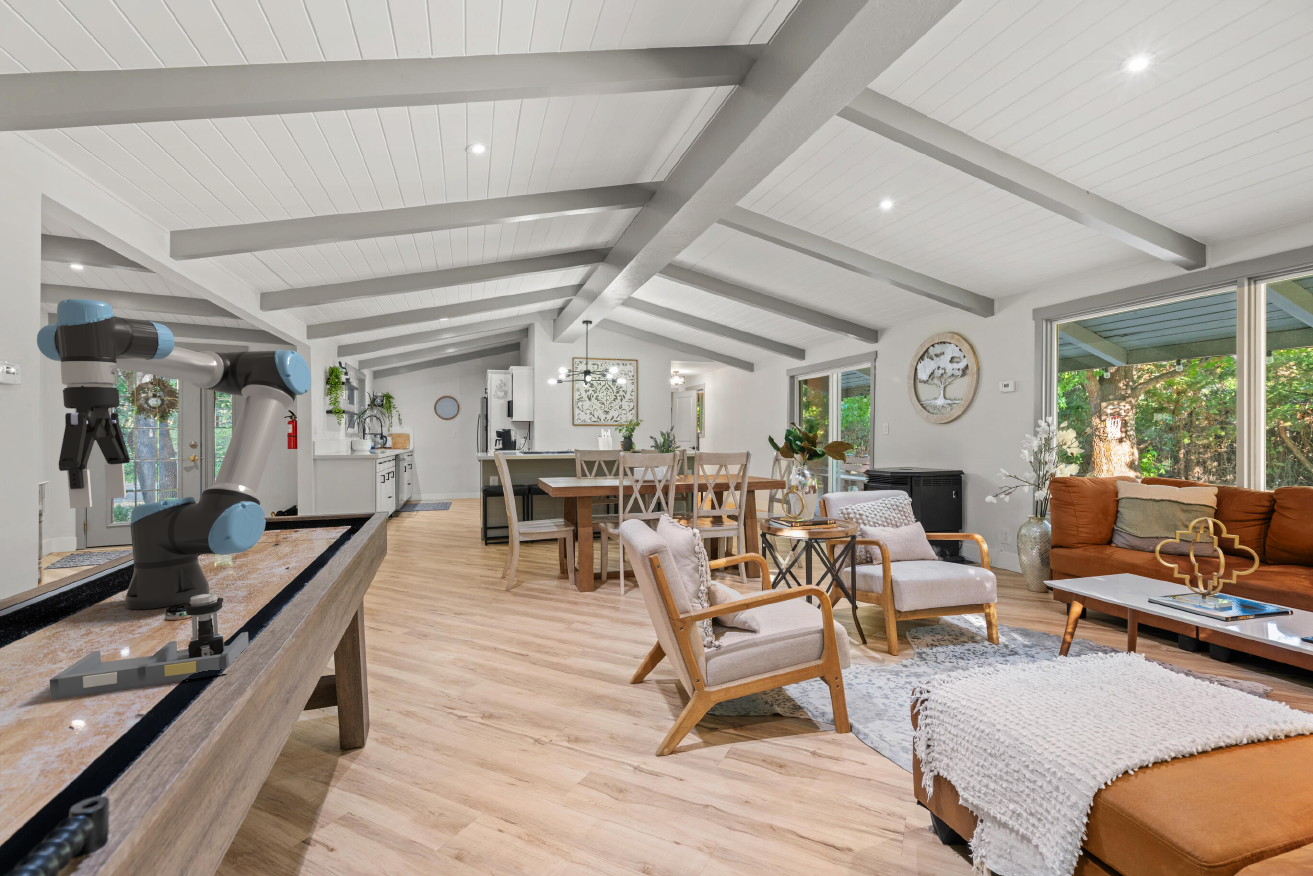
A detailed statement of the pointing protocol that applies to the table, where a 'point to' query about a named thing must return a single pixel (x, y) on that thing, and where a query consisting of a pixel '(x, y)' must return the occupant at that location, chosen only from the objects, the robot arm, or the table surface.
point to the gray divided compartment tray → (138, 670)
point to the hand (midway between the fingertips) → (100, 502)
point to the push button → (204, 626)
